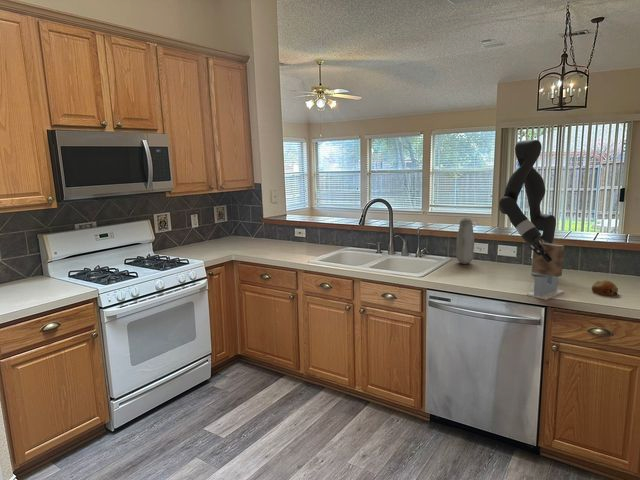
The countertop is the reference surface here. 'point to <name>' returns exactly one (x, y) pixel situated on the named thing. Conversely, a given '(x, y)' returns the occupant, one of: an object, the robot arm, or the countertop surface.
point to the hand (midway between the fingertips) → (552, 260)
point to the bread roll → (605, 288)
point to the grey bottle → (465, 241)
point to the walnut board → (554, 265)
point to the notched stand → (545, 287)
